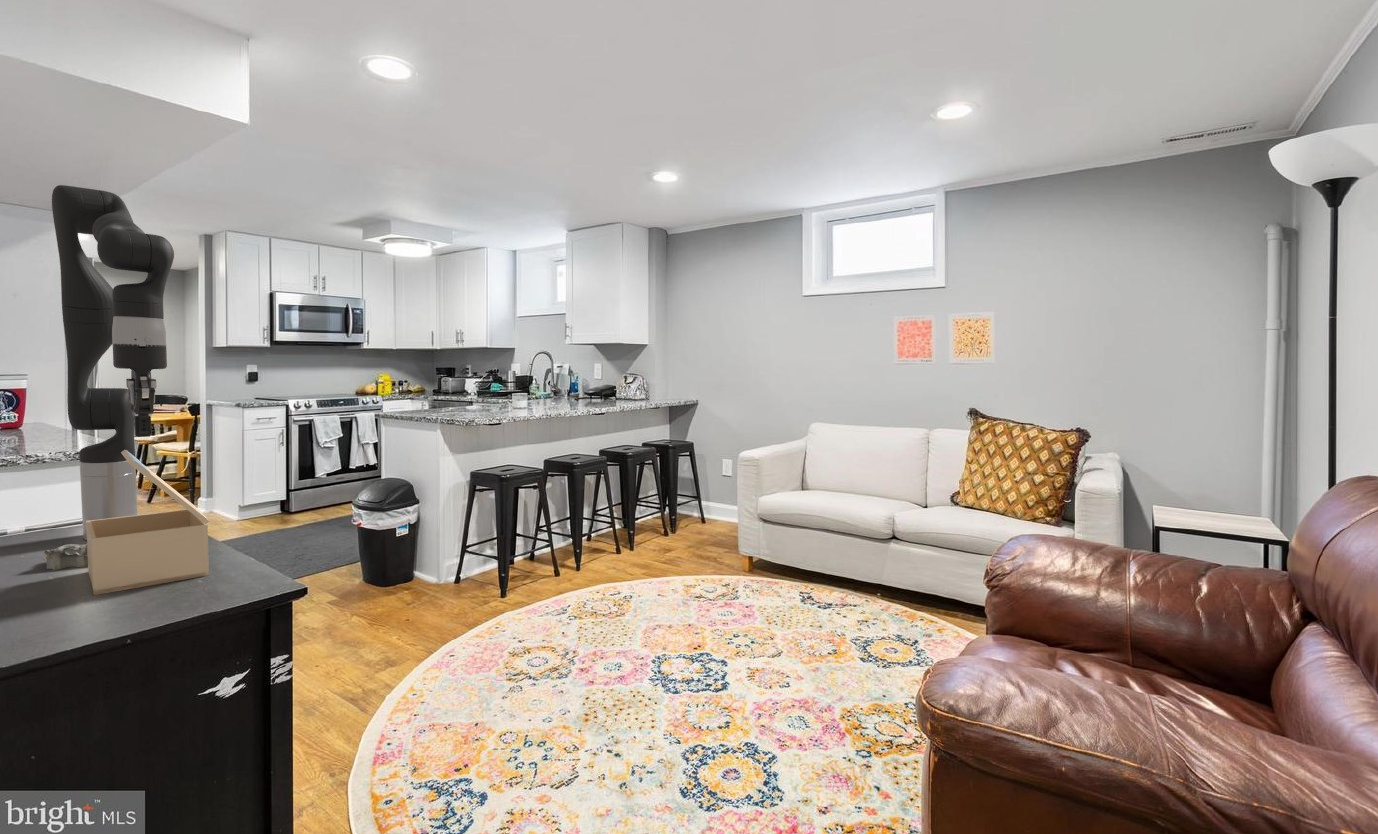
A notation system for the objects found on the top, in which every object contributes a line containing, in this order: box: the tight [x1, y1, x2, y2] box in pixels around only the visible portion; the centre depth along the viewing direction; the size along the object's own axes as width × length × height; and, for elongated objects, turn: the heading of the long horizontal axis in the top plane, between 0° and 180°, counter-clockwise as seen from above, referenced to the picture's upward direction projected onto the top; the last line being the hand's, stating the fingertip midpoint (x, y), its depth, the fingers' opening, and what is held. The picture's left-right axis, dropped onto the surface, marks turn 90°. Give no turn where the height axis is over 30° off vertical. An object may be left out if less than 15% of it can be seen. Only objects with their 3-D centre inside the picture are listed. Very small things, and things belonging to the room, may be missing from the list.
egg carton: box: [44, 543, 88, 570], centre depth 126 cm, size 11×8×4 cm
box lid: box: [121, 450, 210, 525], centre depth 122 cm, size 16×16×1 cm
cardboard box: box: [86, 509, 210, 596], centre depth 121 cm, size 16×16×10 cm
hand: (143, 436), depth 119 cm, fingers closed
